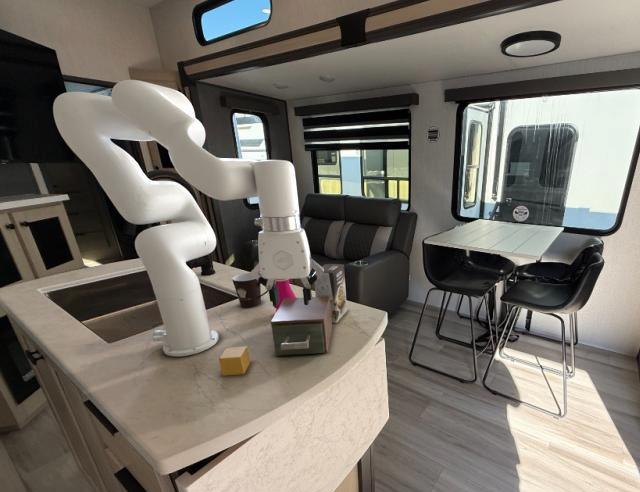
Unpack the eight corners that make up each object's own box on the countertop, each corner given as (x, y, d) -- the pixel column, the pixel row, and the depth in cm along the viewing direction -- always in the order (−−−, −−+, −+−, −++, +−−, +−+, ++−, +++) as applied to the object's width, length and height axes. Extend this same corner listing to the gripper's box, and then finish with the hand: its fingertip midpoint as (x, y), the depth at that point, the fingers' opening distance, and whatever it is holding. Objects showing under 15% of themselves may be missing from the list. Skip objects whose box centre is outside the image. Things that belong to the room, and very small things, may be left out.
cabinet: (327, 352, 81) (323, 318, 77) (276, 355, 80) (270, 321, 76) (332, 326, 94) (329, 296, 91) (288, 328, 93) (284, 298, 90)
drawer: (321, 363, 75) (318, 334, 72) (271, 367, 74) (266, 337, 71) (329, 327, 92) (327, 302, 89) (288, 329, 91) (285, 304, 88)
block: (222, 375, 72) (218, 358, 70) (230, 364, 76) (226, 347, 75) (243, 374, 72) (240, 357, 71) (250, 362, 77) (247, 346, 75)
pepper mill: (269, 317, 100) (259, 255, 93) (285, 308, 106) (277, 250, 99) (287, 321, 97) (279, 258, 91) (303, 311, 104) (295, 252, 97)
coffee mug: (232, 305, 109) (226, 277, 105) (255, 297, 115) (250, 271, 112) (251, 313, 102) (246, 284, 99) (274, 304, 109) (270, 277, 106)
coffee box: (337, 323, 96) (333, 273, 90) (317, 321, 97) (312, 271, 91) (347, 311, 104) (344, 264, 99) (329, 309, 105) (325, 262, 100)
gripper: (230, 228, 61) (246, 312, 67) (321, 226, 63) (329, 308, 69) (244, 221, 68) (257, 298, 74) (326, 220, 70) (332, 295, 76)
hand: (291, 302), depth 72 cm, fingers open, 6 cm apart
